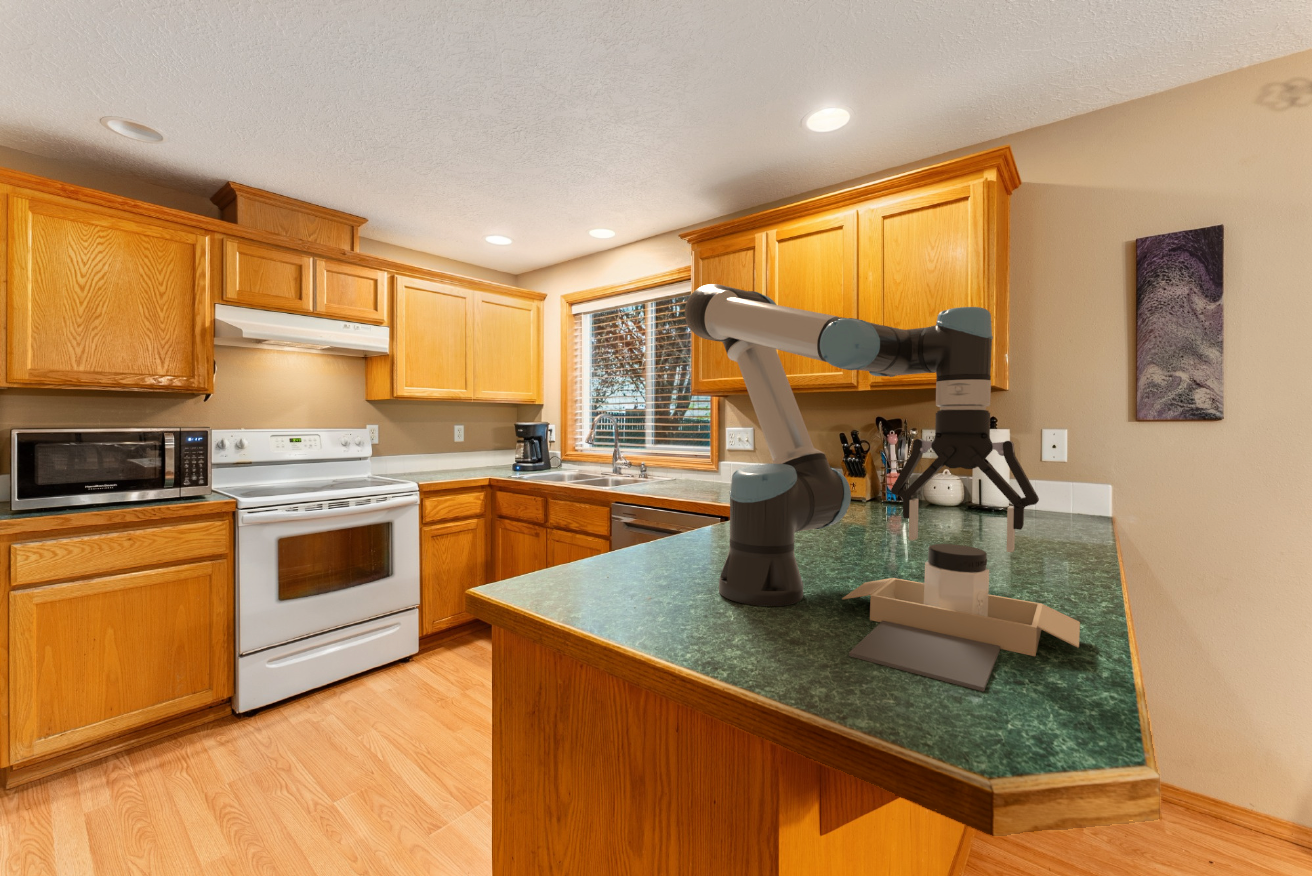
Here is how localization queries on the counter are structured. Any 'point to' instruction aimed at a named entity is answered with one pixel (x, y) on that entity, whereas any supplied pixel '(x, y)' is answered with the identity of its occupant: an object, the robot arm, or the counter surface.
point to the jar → (957, 579)
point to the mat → (929, 654)
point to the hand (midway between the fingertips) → (959, 544)
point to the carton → (969, 616)
